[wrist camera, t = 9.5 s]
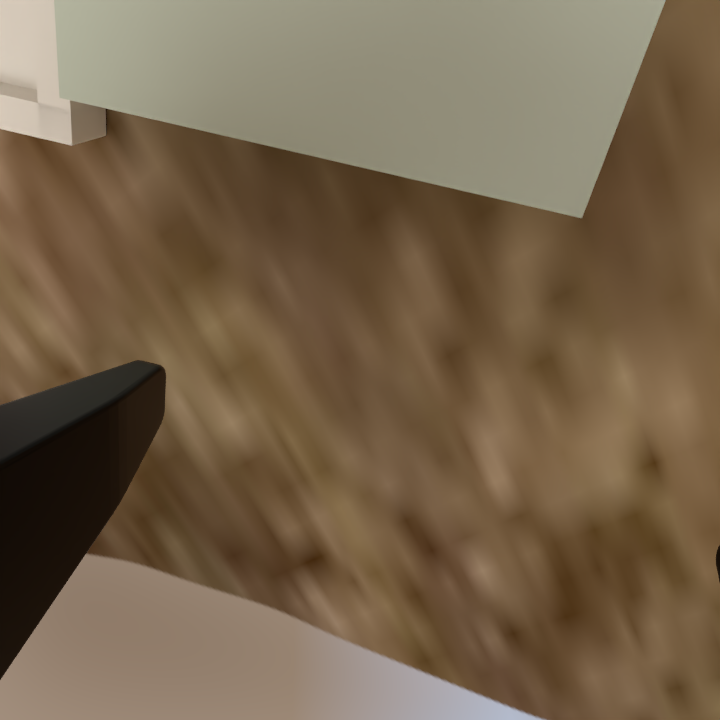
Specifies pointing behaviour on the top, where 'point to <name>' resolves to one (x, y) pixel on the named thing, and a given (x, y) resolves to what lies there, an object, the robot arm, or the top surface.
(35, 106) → the tray
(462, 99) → the platform
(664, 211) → the top surface
